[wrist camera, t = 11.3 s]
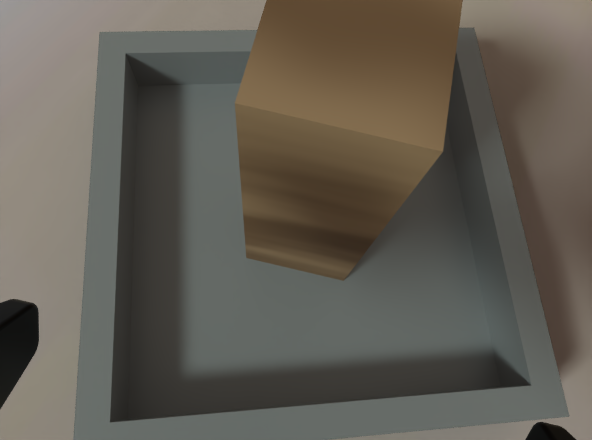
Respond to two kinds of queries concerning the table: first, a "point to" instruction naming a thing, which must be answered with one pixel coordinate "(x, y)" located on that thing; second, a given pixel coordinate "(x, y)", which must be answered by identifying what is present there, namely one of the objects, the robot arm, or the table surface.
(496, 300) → the tray
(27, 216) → the table surface
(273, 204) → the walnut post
